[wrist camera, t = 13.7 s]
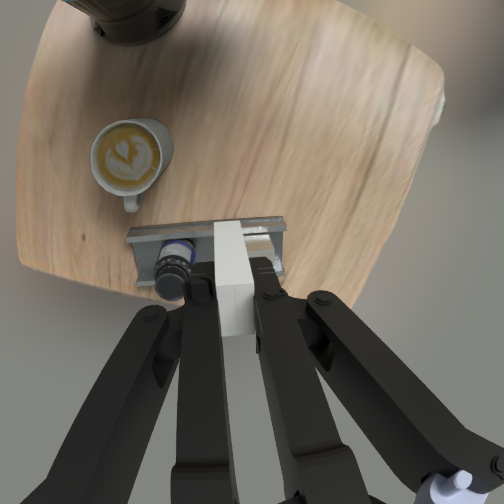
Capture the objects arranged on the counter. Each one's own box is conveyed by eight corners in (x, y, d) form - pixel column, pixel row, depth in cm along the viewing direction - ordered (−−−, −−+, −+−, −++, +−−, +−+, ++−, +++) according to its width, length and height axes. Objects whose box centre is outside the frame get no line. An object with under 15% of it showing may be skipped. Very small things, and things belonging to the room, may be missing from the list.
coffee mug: (121, 112, 37) (98, 114, 28) (181, 124, 40) (171, 128, 31) (105, 191, 43) (82, 212, 34) (160, 204, 45) (148, 228, 36)
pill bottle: (187, 271, 50) (182, 311, 41) (155, 258, 48) (143, 296, 39) (201, 243, 48) (199, 279, 39) (168, 229, 46) (158, 262, 37)
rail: (130, 227, 46) (114, 253, 38) (281, 215, 49) (296, 240, 40) (141, 277, 51) (130, 309, 42) (280, 266, 53) (292, 297, 45)
